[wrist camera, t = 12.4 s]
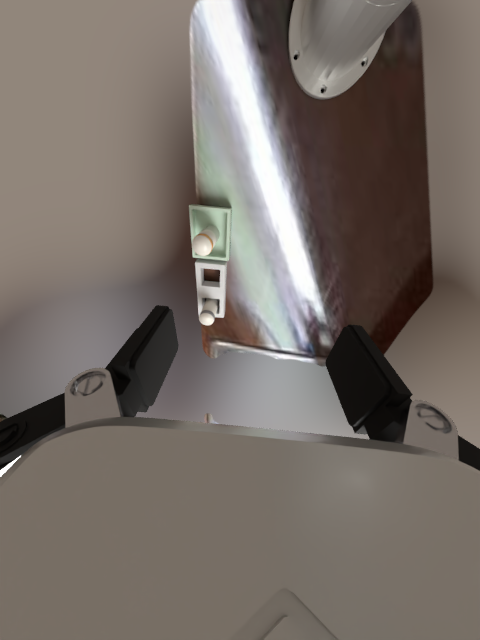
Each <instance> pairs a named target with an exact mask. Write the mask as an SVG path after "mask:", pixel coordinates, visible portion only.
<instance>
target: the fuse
mask: <svg viewBox="0 0 480 640" xmlns="http://www.w3.org/2000/svg"><path fill="white" fill-rule="evenodd" d="M218 305H219V299H210V298H207V299H206V301H205V304H204V306H203V309H202V311H201V313H200V316H199V320H200V322H201V323H202V324H204V325H211V324H212V323H213V322H214V319H215V315H216V312H217V308H218Z"/></svg>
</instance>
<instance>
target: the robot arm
mask: <svg viewBox="0 0 480 640" xmlns="http://www.w3.org/2000/svg"><path fill="white" fill-rule="evenodd" d="M411 1H412V0H294V3H293V7H292V12H291V17H290V24H289V31H288V50H289V60H290V64H291V69H292V72H293V75H294V77H295V79H296V82H297V83H298V85H299V86H300V88H301V89H302V90H303V91H304V92H305V93H306V94H307V95H309V96H311V97H313V98H316V99H330V98H333V97H336V96H338V95H340V94H342V93H343V92H345V91H346V90H348V89H349V88H350V87H351V86H352V85H353V84H354V83H355V82H356V81H357V80H358V79H359V78H360V77H361V76H362V75H363V73H364V72H365V71H366V69H367V68H368V67H369V65H370V63H371V62H372V60H373V58H374V56H375V55H376V53H377V51H378V49H379V46H380V44H381V42H382V39H383V37H384V34H385V31H386V29H387V28H388V27H389V26H390V25H391V24H392V23H393V21H394V20H395V19H396V18H397V17H398V16H399V15H400V13H401V12H402V11H403V10H404V9H405V8H406V7H407V5H408V4H409V3H410V2H411ZM294 56H297V60H294ZM362 62H363V67H362V65H361V63H362ZM321 89H323V90H324V92H323V93H321ZM177 350H178V341H177V335H176V329H175V323H174V317H173V312H172V310H171V309H169V307H167V306H159V305H158V306H155V308H154V309H153V310H152V312H151V313H150V314H149V315H148V317H147V318H146V319H145V321H144V322H143V323H142V324H141V326H140V327H139V328H138V329H136V330H135V331H134V333H133V334H132V335H131V336H130V338H129V339H128V340H127V341H126V343H125V344H124V345H123V346H122V348H121V349H120V350H119V352H118V353H117V354H116V355H115V357H114V358H113V359H112V360H111V362H110V363H109V364H108V365H107V367H106V368H105V369H104V368H93V369H89V370H86V371H85V372H82V373H80V374H78V375H77V376H75V377H74V378H73V379H72V380H71V381H70V382H69V383H68V385H67V386H66V389H65V393H63V394H61V395H58V396H56V397H54V398H52V399H50V400H47V401H45V402H43V403H41V404H38V405H36V406H34V407H32V408H30V409H27V410H25V411H23V412H21V413H18V414H16V415H14V416H12V417H10V418H7V419H5V420H3V421H1V422H0V640H480V449H479V448H477V447H476V446H474V445H473V444H471V443H469V442H468V441H466V440H465V439H463V438H462V437H460V436H458V431H457V428H456V426H455V424H454V422H453V421H452V420H451V418H449V416H448V415H447V414H446V413H444V412H443V411H442V410H441V409H439V408H438V407H436V406H435V405H433V404H431V403H429V402H426V401H422V400H414V401H412V400H411V399H410V396H412V393H411V392H410V390H409V389H408V388H407V386H406V385H405V384H404V382H403V381H402V380H401V378H400V377H399V376H398V374H397V373H396V372H395V370H394V369H393V368H392V366H391V365H390V364H389V362H388V361H387V359H386V358H385V357H384V355H383V354H382V353H381V351H380V350H379V349H378V347H377V346H376V345H375V343H374V342H373V341H372V339H371V338H370V337H369V335H368V334H367V332H366V331H365V330H364V328H363V327H362V326H358V325H348V326H347V327H344V328H343V330H342V332H341V333H340V335H339V337H338V339H337V341H336V343H335V344H334V346H333V348H332V350H331V352H330V354H329V356H328V357H327V359H326V367H327V369H328V372H329V375H330V377H331V380H332V382H333V385H334V387H335V390H336V392H337V395H338V398H339V400H340V403H341V405H342V408H343V410H344V413H345V415H346V418H347V421H348V423H349V424H350V425H351V426H352V427H353V430H354V432H355V433H358V434H368V436H369V438H370V439H369V440H368V439H359V438H351V437H341V436H331V435H322V434H312V433H303V432H293V431H283V430H273V429H263V428H253V427H243V426H233V425H222V424H212V423H202V422H190V421H180V420H168V419H155V418H141V417H135V416H136V413H137V412H147V410H148V407H149V406H152V405H153V404H154V402H155V399H156V397H157V395H158V393H159V390H160V388H161V386H162V384H163V382H164V379H165V377H166V375H167V373H168V370H169V368H170V366H171V363H172V361H173V359H174V357H175V355H176V353H177Z"/></svg>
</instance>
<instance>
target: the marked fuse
mask: <svg viewBox="0 0 480 640" xmlns="http://www.w3.org/2000/svg"><path fill="white" fill-rule="evenodd" d="M219 237H220V232H219V230H218V228H217V227H216V226H214V225H208V226H206V227H205V228H204V229H203V230H202V231H201V232H200V233H199V234H198V235H197V236H195V237H194V239H193V241H192V247H193V250H194V251H195V252H196V253H197V254H198V255H200V256H206V255H208V254H210V252H211V251H212V249H213V247H214V246H215V244H216V242H217V241H218V239H219Z"/></svg>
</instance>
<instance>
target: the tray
mask: <svg viewBox="0 0 480 640" xmlns="http://www.w3.org/2000/svg"><path fill="white" fill-rule="evenodd" d="M189 213H190V214H189V215H190V227H191V241H193V239H194V237H195V236H197V235H198V234H199V233H200V232H201V231H202V230H203V229H204V228H205V227H206V226H208V225H214V226H216V227H217V228H218V230H219V232H220V237H219V239H218V241H217V242H216V244H215V246H214V247H213V249H212V251H211V252H210V254H208V255H206V256H200V255H198V254H197V253H196V252H195V251H194V250H193V247H192V255H193V258H203V259H213V260H223V261H229V258H230V237H231V215H232V208H227V207H217V206H207V205H197V204H191V205H189Z"/></svg>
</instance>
